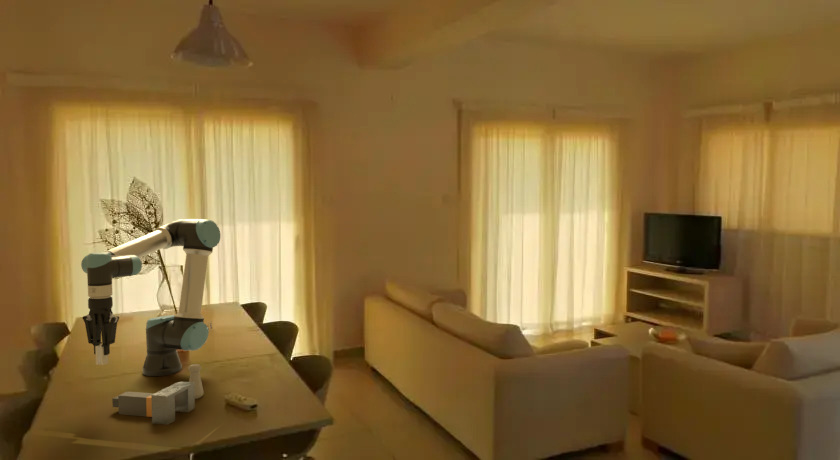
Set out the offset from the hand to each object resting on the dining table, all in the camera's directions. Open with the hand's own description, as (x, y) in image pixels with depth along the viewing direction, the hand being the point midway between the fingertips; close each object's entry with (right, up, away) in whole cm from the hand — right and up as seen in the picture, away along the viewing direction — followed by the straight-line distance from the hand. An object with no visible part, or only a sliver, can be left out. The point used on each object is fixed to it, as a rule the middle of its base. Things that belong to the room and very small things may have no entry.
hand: (102, 363), depth 210 cm
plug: (+13, -17, -2) cm, 21 cm away
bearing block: (+27, -17, -5) cm, 32 cm away
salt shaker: (+28, -16, +12) cm, 35 cm away
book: (+2, -12, +103) cm, 104 cm away
